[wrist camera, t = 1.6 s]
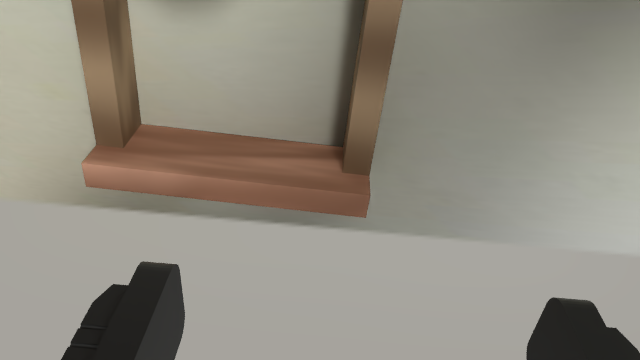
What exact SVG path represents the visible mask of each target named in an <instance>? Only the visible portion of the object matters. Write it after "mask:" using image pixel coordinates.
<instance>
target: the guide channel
mask: <svg viewBox="0 0 640 360" xmlns="http://www.w3.org/2000/svg"><path fill="white" fill-rule="evenodd" d="M402 1H403V0H365V3H364V10H363V17H362V23H361V30H360V37H359V43H358V50H357V57H356V64H355V70H354V77H353V84H352V90H351V97H350V104H349V110H348V117H347V124H346V130H345V137H344V144H343V147H337V146H329V145H320V144H311V143H302V142H293V141H285V140H276V139H267V138H258V137H249V136H241V135H232V134H223V133H214V132H206V131H197V130H188V129H179V128H170V127H162V126H153V125H144V124H141V119H140V110H139V101H138V92H137V83H136V74H135V65H134V57H133V48H132V39H131V30H130V21H129V12H128V3H127V0H71V2H72V7H73V13H74V19H75V25H76V30H77V36H78V42H79V48H80V53H81V59H82V65H83V71H84V76H85V82H86V88H87V93H88V99H89V105H90V111H91V116H92V122H93V128H94V134H95V139H96V146H95V147H94V149H93V150H92V151H91V152H90V153H89V155H88V156H87V157H86V158H85V160H84V161H83V162H82V168H83V173H84V178H85V183H86V187H95V188H104V189H113V190H122V191H131V192H140V193H149V194H158V195H167V196H176V197H185V198H194V199H203V200H212V201H220V202H229V203H238V204H247V205H256V206H265V207H274V208H283V209H292V210H301V211H310V212H319V213H328V214H337V215H346V216H355V217H364V218H366V215H367V210H368V205H369V200H370V182H369V174H370V169H371V163H372V158H373V153H374V148H375V143H376V137H377V132H378V127H379V122H380V116H381V111H382V106H383V101H384V95H385V90H386V85H387V80H388V75H389V69H390V64H391V59H392V54H393V48H394V43H395V38H396V33H397V27H398V22H399V17H400V12H401V7H402Z"/></svg>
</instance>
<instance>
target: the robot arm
mask: <svg viewBox="0 0 640 360" xmlns="http://www.w3.org/2000/svg"><path fill="white" fill-rule="evenodd" d="M184 311H185V310H184V303H183V294H182V286H181V277H180V270H179V267H178V265H177V264H165V263H153V262H141V263H140V264H139V265H138V267H137V269H136V271H135V273H134V275H133V277H132V279H131V281H130V283H129V285H116V284H113V285H112V286H111V287H109V288H108V289H107V290H106V291H105V292H104V293H103V294H101V295H100V296H99V297H98V298H97V299H96V300H95V301H94V302H93V303H92V305H91V307H90V308H89V310H88V312H87V314H86V315H85V317H84V319H83V321H82V323H81V327H80V328H79V329H78V330H77V332H76V334H75V335H74V337H73V339H72V341H71V345H70V347H68V348H67V350H66V352H65V353H64V355H63V357H62V359H61V360H174V359H175V356H176V353H177V350H178V347H179V344H180V341H181V338H182V334H183V328H184V320H185V312H184ZM527 360H640V353H639V351H638V350H637V349H636V348H635V347H634V346H633V345H632V344H631V343H630V342H629V341H628V340H627V339H626V338H625V337H624V336H623V335H622V334H621V333H620V332H619V331H618V330H617V329H616V328H609V327H606V325H605V323H604V321H603V319H602V318H601V316H600V314H599V312H598V310H597V308H596V307H595V305H594V304H593V303H592V302H590V301H587V300H576V299H565V298H551V299H550V300H549V301H548V302H547V304H546V306H545V308H544V310H543V312H542V314H541V317H540V319H539V321H538V323H537V325H536V327H535V329H534V331H533V334H532V335H531V338H530V340H529V342H528V346H527Z"/></svg>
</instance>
